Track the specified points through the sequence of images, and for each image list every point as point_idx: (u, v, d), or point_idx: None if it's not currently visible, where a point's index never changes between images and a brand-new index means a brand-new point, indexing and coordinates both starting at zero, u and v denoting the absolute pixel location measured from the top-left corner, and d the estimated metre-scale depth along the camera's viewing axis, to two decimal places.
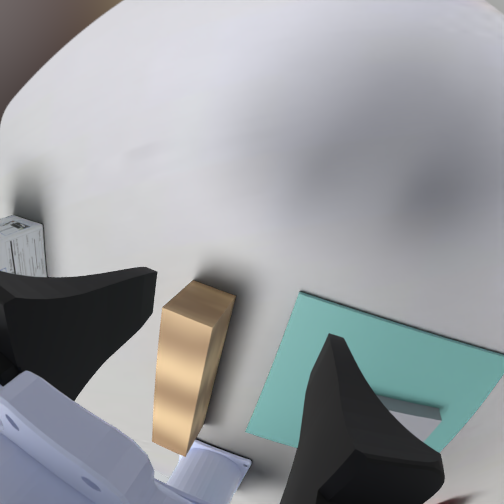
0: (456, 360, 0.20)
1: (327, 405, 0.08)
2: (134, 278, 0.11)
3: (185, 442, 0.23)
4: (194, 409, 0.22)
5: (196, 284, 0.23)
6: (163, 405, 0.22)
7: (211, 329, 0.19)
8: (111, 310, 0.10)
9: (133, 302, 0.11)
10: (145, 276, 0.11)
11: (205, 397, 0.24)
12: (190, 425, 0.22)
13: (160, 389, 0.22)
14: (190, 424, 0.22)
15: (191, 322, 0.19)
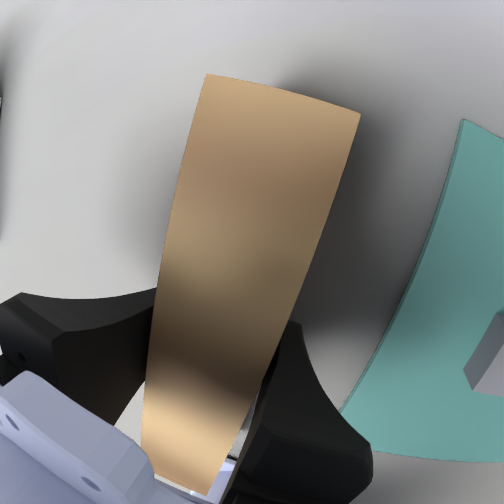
0: None
1: (267, 387, 0.08)
2: None
3: (211, 473, 0.10)
4: (250, 403, 0.09)
5: None
6: (168, 393, 0.09)
7: (356, 120, 0.06)
8: None
9: None
10: None
11: None
12: (229, 442, 0.09)
13: (163, 351, 0.09)
14: (231, 439, 0.09)
15: (294, 104, 0.06)
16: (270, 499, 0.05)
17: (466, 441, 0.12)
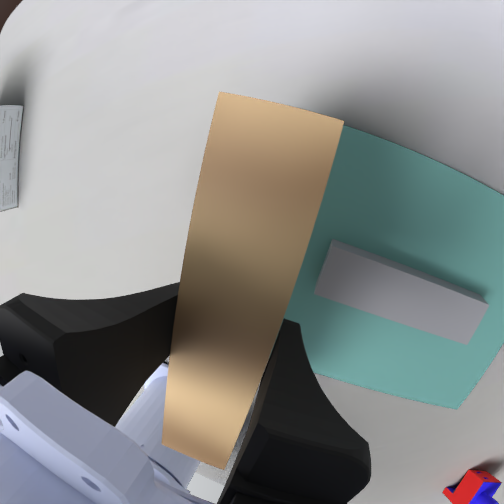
0: (493, 214, 0.15)
1: (266, 386, 0.08)
2: (177, 296, 0.10)
3: (229, 443, 0.12)
4: (263, 368, 0.10)
5: None
6: (190, 365, 0.11)
7: (340, 126, 0.08)
8: (154, 331, 0.09)
9: None
10: None
11: None
12: (245, 408, 0.11)
13: (186, 325, 0.11)
14: (247, 405, 0.11)
15: (291, 115, 0.08)
16: (268, 499, 0.05)
17: (345, 359, 0.20)
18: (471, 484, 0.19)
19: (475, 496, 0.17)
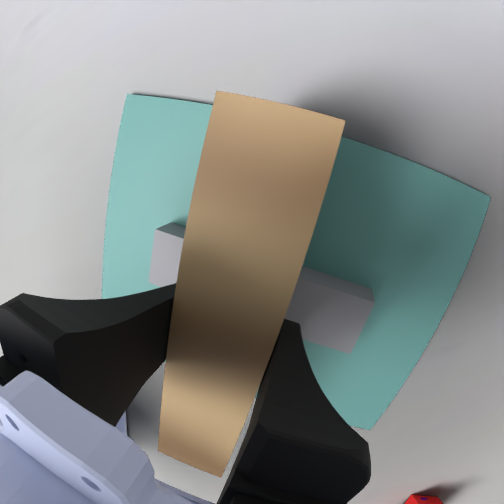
0: (377, 180, 0.13)
1: (266, 386, 0.08)
2: None
3: (226, 451, 0.12)
4: (261, 375, 0.10)
5: None
6: (186, 372, 0.11)
7: (341, 126, 0.07)
8: (154, 331, 0.09)
9: None
10: None
11: None
12: (243, 416, 0.11)
13: (182, 331, 0.10)
14: (244, 413, 0.11)
15: (290, 115, 0.07)
16: (268, 499, 0.05)
17: None
18: None
19: None
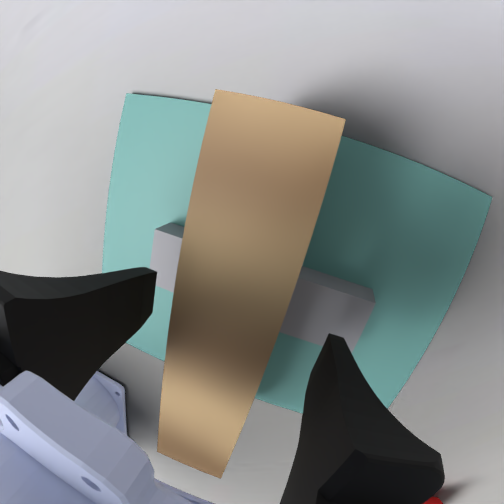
0: (378, 180, 0.13)
1: (327, 405, 0.08)
2: (134, 278, 0.11)
3: (226, 452, 0.12)
4: (260, 376, 0.10)
5: None
6: (185, 373, 0.11)
7: (342, 125, 0.07)
8: (111, 310, 0.10)
9: (133, 302, 0.11)
10: (145, 276, 0.11)
11: None
12: (242, 417, 0.11)
13: (181, 332, 0.10)
14: (244, 414, 0.11)
15: (289, 113, 0.07)
16: None
17: None
18: None
19: None
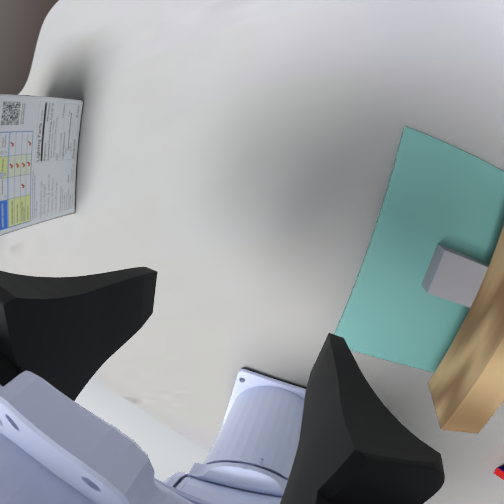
0: None
1: (327, 405, 0.08)
2: (134, 278, 0.11)
3: (498, 404, 0.13)
4: None
5: None
6: None
7: None
8: (111, 310, 0.10)
9: (133, 302, 0.11)
10: (145, 276, 0.11)
11: None
12: None
13: None
14: None
15: None
16: None
17: (438, 352, 0.20)
18: None
19: None
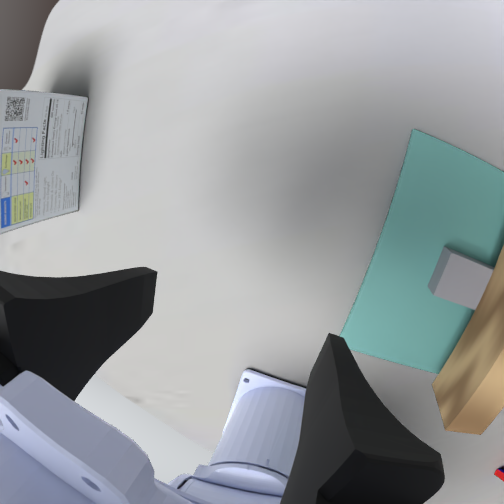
0: None
1: (327, 405, 0.08)
2: (134, 278, 0.11)
3: (501, 406, 0.13)
4: None
5: None
6: None
7: None
8: (111, 310, 0.10)
9: (133, 302, 0.11)
10: (145, 276, 0.11)
11: None
12: None
13: None
14: None
15: None
16: None
17: (442, 353, 0.20)
18: None
19: None
